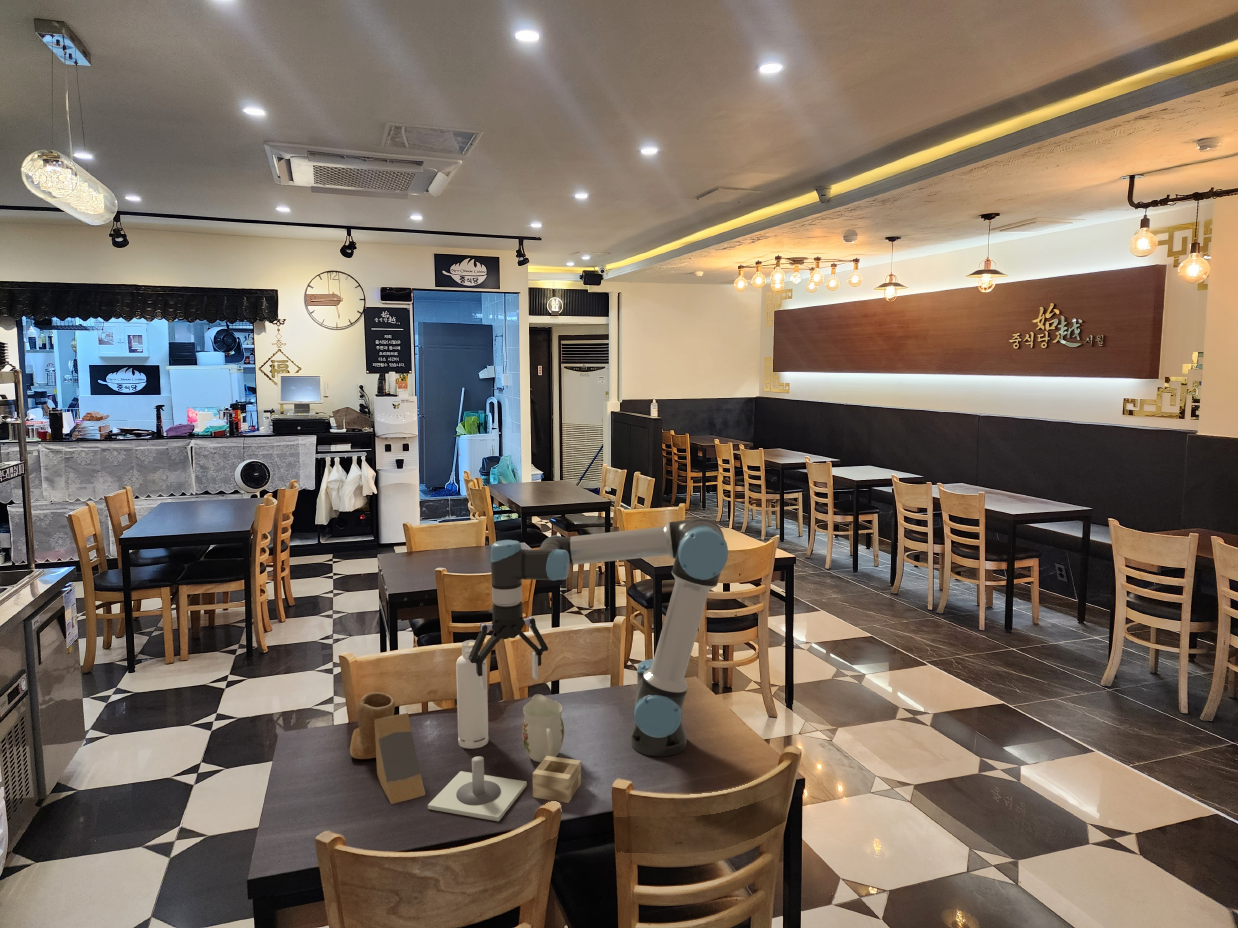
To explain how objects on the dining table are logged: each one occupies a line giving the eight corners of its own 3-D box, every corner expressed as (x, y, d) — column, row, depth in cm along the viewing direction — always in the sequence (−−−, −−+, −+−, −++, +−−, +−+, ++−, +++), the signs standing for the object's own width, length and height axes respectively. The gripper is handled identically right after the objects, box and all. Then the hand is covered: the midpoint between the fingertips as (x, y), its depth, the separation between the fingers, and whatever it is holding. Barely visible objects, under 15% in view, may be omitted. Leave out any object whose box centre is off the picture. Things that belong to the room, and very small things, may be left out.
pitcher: (529, 777, 197) (528, 725, 195) (518, 744, 214) (517, 696, 212) (572, 771, 200) (571, 719, 198) (557, 739, 217) (557, 691, 215)
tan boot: (395, 759, 206) (393, 704, 204) (347, 764, 203) (345, 709, 202) (398, 733, 221) (396, 682, 219) (353, 737, 218) (351, 686, 216)
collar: (581, 783, 194) (580, 760, 193) (568, 802, 185) (568, 778, 185) (546, 778, 196) (546, 755, 196) (532, 796, 188) (532, 773, 187)
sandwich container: (390, 805, 185) (388, 744, 183) (375, 775, 198) (373, 719, 196) (426, 795, 189) (424, 736, 187) (410, 767, 202) (408, 711, 200)
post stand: (526, 785, 193) (526, 748, 192) (498, 821, 178) (498, 781, 177) (460, 774, 198) (459, 738, 197) (427, 808, 183) (426, 770, 182)
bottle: (491, 735, 219) (489, 638, 216) (483, 749, 211) (481, 648, 208) (463, 733, 220) (460, 637, 217) (454, 747, 212) (451, 647, 209)
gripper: (549, 591, 207) (551, 669, 209) (454, 604, 197) (457, 685, 200) (559, 599, 200) (560, 679, 203) (461, 612, 190) (464, 696, 193)
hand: (509, 682), depth 201 cm, fingers open, 13 cm apart
